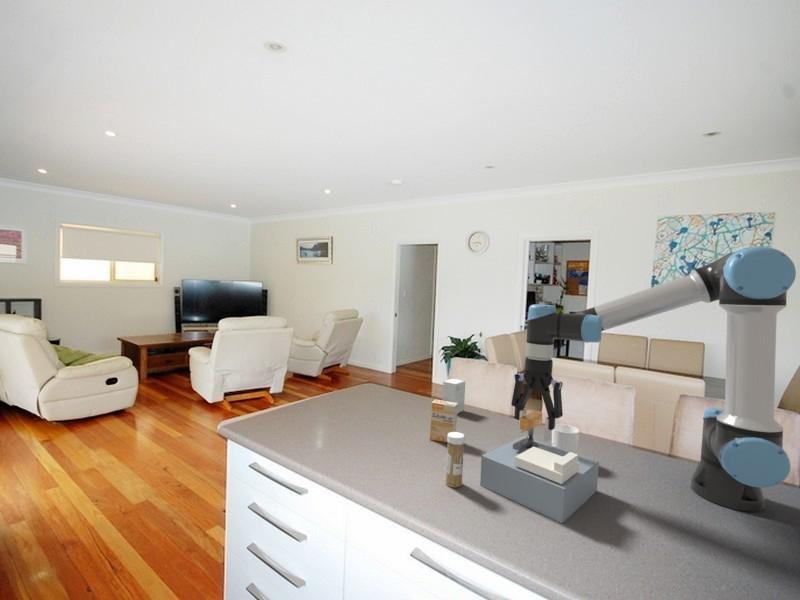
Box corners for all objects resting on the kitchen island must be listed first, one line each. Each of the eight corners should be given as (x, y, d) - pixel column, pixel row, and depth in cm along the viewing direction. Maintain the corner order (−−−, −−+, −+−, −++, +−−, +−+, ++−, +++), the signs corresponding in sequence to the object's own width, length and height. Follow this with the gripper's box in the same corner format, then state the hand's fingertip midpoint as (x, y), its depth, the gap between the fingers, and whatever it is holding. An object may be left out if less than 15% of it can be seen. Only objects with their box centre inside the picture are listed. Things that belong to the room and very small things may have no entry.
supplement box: (429, 440, 133) (430, 402, 133) (433, 435, 138) (435, 398, 137) (452, 444, 130) (454, 406, 130) (456, 439, 135) (458, 402, 134)
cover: (578, 471, 97) (579, 454, 96) (561, 484, 90) (562, 466, 89) (533, 454, 105) (534, 439, 105) (514, 465, 98) (515, 448, 98)
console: (596, 490, 104) (598, 459, 104) (562, 523, 88) (564, 487, 88) (521, 461, 120) (522, 434, 119) (480, 485, 104) (481, 454, 104)
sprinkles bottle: (460, 489, 101) (463, 438, 101) (443, 486, 103) (446, 436, 102) (463, 481, 106) (465, 432, 105) (446, 478, 107) (449, 430, 107)
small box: (451, 407, 170) (453, 378, 170) (464, 410, 166) (465, 380, 166) (441, 411, 164) (443, 381, 163) (454, 415, 160) (456, 384, 159)
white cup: (580, 467, 118) (582, 434, 117) (552, 463, 119) (554, 431, 119) (573, 456, 125) (575, 425, 125) (548, 453, 127) (549, 422, 126)
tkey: (540, 440, 115) (542, 413, 114) (519, 451, 106) (521, 422, 105) (533, 437, 116) (535, 411, 116) (512, 448, 107) (514, 420, 107)
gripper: (579, 362, 108) (574, 443, 109) (514, 351, 123) (510, 423, 124) (568, 365, 103) (563, 450, 104) (501, 353, 117) (497, 428, 118)
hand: (534, 435), depth 114 cm, fingers open, 7 cm apart
